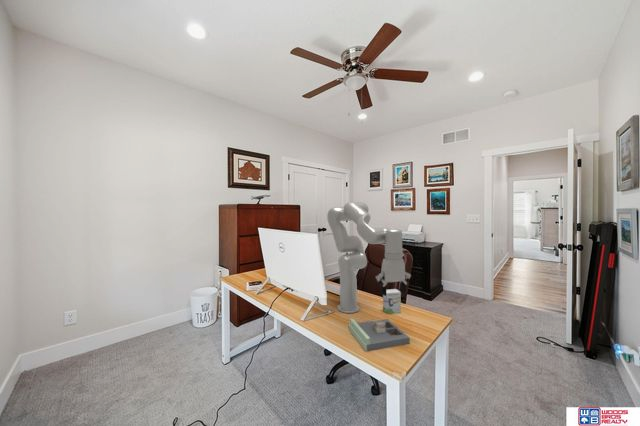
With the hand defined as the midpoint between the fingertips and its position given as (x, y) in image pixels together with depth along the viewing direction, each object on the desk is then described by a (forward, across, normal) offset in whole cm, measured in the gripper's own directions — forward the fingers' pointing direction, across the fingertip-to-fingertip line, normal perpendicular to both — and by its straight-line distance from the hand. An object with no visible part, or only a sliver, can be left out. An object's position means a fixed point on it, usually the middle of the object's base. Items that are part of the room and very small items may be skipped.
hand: (393, 293), depth 107 cm
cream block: (+16, +7, -1) cm, 18 cm away
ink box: (+19, -12, -22) cm, 32 cm away
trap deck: (+19, +7, -1) cm, 20 cm away
